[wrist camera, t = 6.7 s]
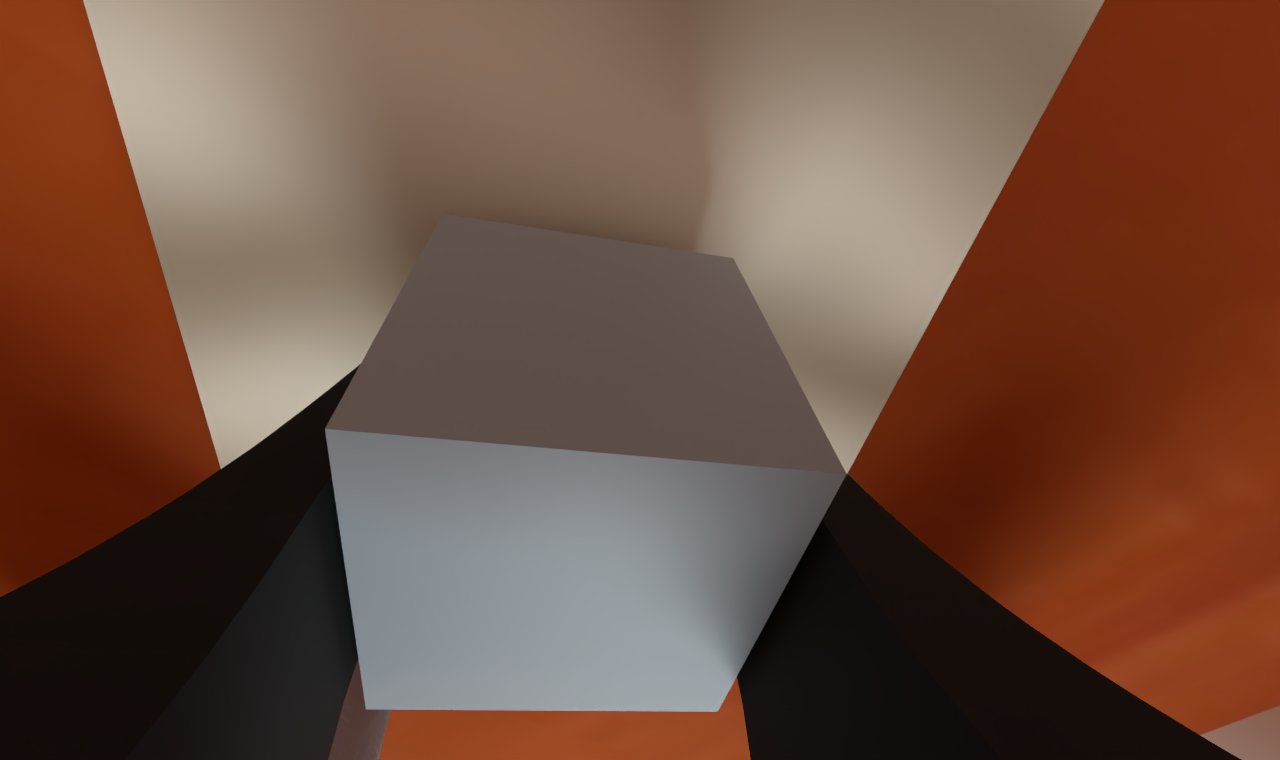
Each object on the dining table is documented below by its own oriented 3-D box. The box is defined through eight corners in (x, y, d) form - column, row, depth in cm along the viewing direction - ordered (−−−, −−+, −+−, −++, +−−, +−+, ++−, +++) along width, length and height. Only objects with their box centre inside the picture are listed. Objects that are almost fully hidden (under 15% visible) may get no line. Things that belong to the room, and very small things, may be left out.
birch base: (771, 522, 18) (790, 577, 16) (280, 490, 16) (245, 551, 14) (1024, -11, 10) (1108, -7, 9) (115, -252, 8) (-9, -310, 6)
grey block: (671, 461, 12) (717, 711, 8) (442, 442, 11) (366, 709, 7) (733, 257, 10) (846, 473, 6) (443, 213, 9) (324, 429, 5)
